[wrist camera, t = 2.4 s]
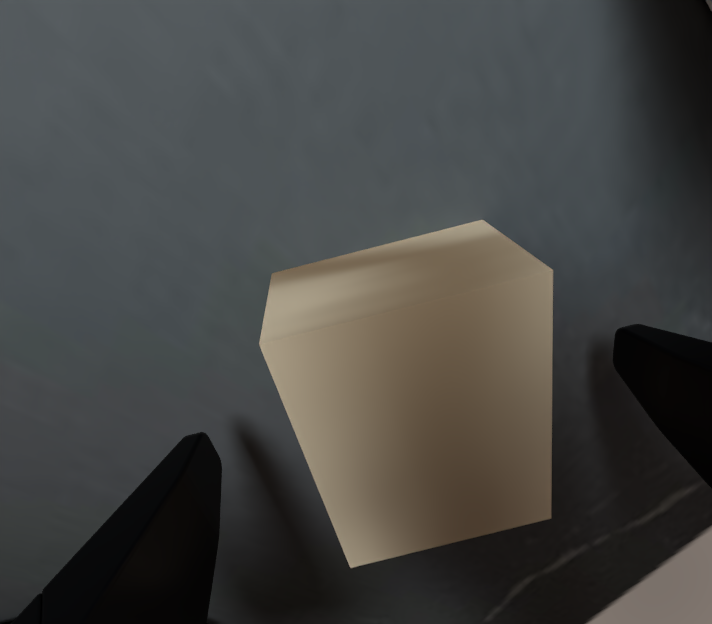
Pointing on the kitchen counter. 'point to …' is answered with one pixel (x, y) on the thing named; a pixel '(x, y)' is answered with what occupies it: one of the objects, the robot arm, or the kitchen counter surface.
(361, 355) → the beech block
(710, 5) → the medicine box
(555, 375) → the kitchen counter surface
